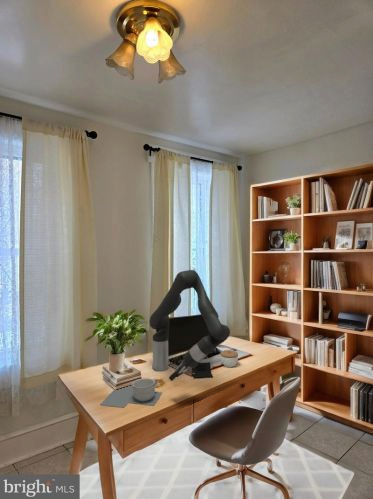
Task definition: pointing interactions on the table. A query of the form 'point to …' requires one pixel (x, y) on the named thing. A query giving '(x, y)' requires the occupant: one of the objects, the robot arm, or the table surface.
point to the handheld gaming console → (202, 371)
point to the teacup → (144, 388)
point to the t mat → (127, 398)
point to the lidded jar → (229, 358)
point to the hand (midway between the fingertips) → (170, 379)
